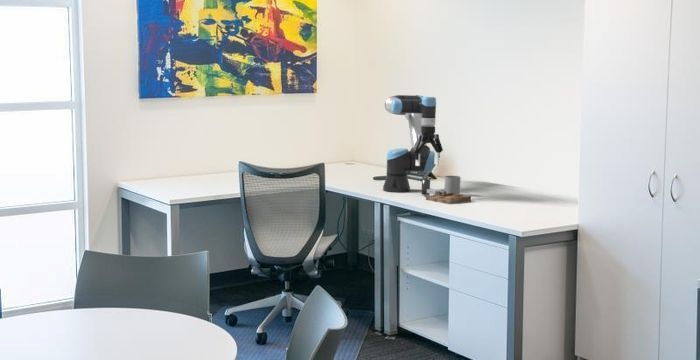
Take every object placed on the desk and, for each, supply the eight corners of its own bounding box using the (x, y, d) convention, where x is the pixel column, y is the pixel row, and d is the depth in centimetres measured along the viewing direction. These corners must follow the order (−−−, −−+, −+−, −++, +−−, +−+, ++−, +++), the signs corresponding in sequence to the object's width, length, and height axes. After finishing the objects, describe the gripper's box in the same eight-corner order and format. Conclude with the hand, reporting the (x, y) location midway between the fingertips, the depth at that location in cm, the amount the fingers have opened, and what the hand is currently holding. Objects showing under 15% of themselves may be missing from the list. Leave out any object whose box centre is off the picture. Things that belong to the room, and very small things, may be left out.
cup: (441, 194, 491) (441, 176, 489) (452, 193, 496) (452, 175, 494) (452, 196, 484) (452, 178, 483) (462, 195, 489) (463, 177, 488)
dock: (426, 199, 471) (426, 192, 471) (447, 197, 481) (448, 189, 481) (448, 204, 458) (448, 196, 458) (470, 201, 468) (470, 193, 467)
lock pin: (419, 193, 485) (420, 179, 484) (425, 193, 488) (426, 178, 487) (439, 197, 473) (440, 182, 472) (445, 197, 475) (446, 182, 474)
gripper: (415, 127, 469) (414, 167, 472) (450, 125, 484) (448, 164, 487) (406, 126, 475) (405, 165, 478) (440, 124, 490) (439, 163, 493)
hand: (427, 165), depth 482 cm, fingers open, 13 cm apart
